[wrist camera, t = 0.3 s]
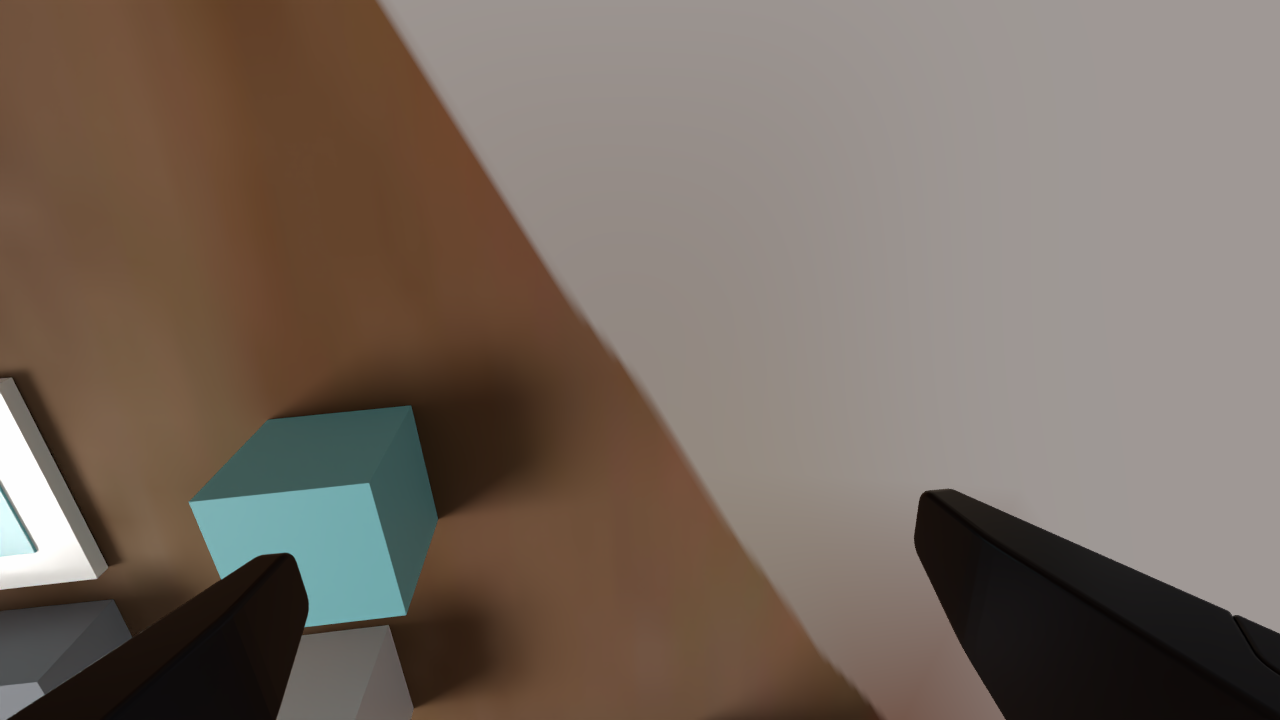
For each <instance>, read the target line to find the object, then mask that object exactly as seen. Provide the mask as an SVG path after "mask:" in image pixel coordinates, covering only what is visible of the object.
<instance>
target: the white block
mask: <svg viewBox="0 0 1280 720" xmlns="http://www.w3.org/2000/svg"><path fill="white" fill-rule="evenodd" d="M413 709H414V708H413V704H412V701H411V698H410V694H409V691H408V688H407V684H406V681H405V678H404V674H403V671H402V668H401V664H400V661H399V657H398V654H397V651H396V647H395V644H394V641H393V637H392V634H391V631H390V627H389V625H384V626H376V627H368V628H359V629H351V630H343V631H334V632H326V633H317V634H309V635H302V637H301V640H300V644H299V647H298V650H297V654H296V657H295V660H294V664H293V667H292V670H291V674H290V677H289V680H288V684H287V687H286V690H285V694H284V697H283V700H282V704H281V707H280V710H279V713H278V716H277V719H276V720H411V717H412V713H413Z"/></svg>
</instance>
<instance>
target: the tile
mask: <svg viewBox="0 0 1280 720" xmlns="http://www.w3.org/2000/svg"><path fill="white" fill-rule="evenodd" d="M107 569H108V566H107V564H106V562H105V560H104V558H103V556H102V554H101V552H100V550H99V548H98V546H97V544H96V542H95V540H94V538H93V536H92V534H91V532H90V530H89V528H88V526H87V524H86V522H85V520H84V518H83V516H82V515H81V513H80V511H79V509H78V507H77V505H76V503H75V501H74V499H73V497H72V495H71V493H70V491H69V489H68V487H67V485H66V483H65V481H64V479H63V477H62V475H61V473H60V471H59V469H58V467H57V465H56V463H55V461H54V459H53V457H52V455H51V454H50V452H49V450H48V448H47V446H46V444H45V442H44V440H43V438H42V436H41V434H40V432H39V430H38V428H37V426H36V424H35V422H34V420H33V418H32V416H31V414H30V412H29V410H28V408H27V406H26V404H25V402H24V400H23V398H22V396H21V394H20V393H19V391H18V389H17V387H16V385H15V383H14V381H13V379H12V377H10V378H0V590H2V589H10V588H19V587H28V586H37V585H46V584H55V583H64V582H73V581H81V580H90V579H98V578H99V577H100V576H101V575H102V574H103V573H104V572H105V571H106V570H107Z"/></svg>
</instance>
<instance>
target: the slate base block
mask: <svg viewBox="0 0 1280 720" xmlns="http://www.w3.org/2000/svg"><path fill="white" fill-rule="evenodd" d="M131 638H132V636H131V634H130V632H129V630H128V628H127V626H126V624H125V622H124V620H123V618H122V616H121V614H120V612H119V610H118V608H117V606H116V604H115V602H114V600H113V599H111V600H101V601H92V602H82V603H73V604H63V605H53V606H44V607H34V608H24V609H15V610H5V611H0V720H6V719H8V718H9V717H11V716H12V715H14V714H15V713H17V712H19V711H20V710H22V709H23V708H25V707H26V706H28V705H29V704H31V703H32V702H34V701H35V700H37V699H39V698H40V697H42V696H43V695H45V694H46V693H48V692H49V691H51V690H52V689H54V688H55V687H57V686H58V685H60V684H62V683H63V682H65V681H66V680H68V679H69V678H71V677H72V676H74V675H75V674H77V673H78V672H80V671H82V670H83V669H85V668H86V667H88V666H89V665H91V664H92V663H94V662H95V661H97V660H98V659H100V658H101V657H103V656H105V655H106V654H108V653H109V652H111V651H112V650H114V649H115V648H117V647H118V646H120V645H121V644H123V643H125V642H126V641H128V640H129V639H131Z"/></svg>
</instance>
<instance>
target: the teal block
mask: <svg viewBox="0 0 1280 720" xmlns="http://www.w3.org/2000/svg"><path fill="white" fill-rule="evenodd" d="M189 504H190V506H191V509H192V511H193V513H194V516H195V518H196V520H197V523H198V525H199V527H200V530H201V532H202V535H203V537H204V539H205V542H206V544H207V546H208V549H209V551H210V554H211V556H212V558H213V561H214V563H215V565H216V568H217V570H218V573H219V575H220V577H221V579H223V578H224V577H226V576H227V575H229V574H231V573H232V572H234V571H235V570H237V569H238V568H240V567H241V566H243V565H244V564H246V563H247V562H249V561H251V560H252V559H254V558H255V557H257V556H260V555H265V554H275V553H289V554H291V555H293V556H294V558H295V559H296V562H297V564H298V568H299V571H300V574H301V577H302V580H303V583H304V586H305V589H306V592H307V595H308V600H309V612H308V617H307V621H306V624H305V627H310V626H319V625H327V624H336V623H344V622H352V621H361V620H369V619H378V618H386V617H395V616H403V615H407V612H408V609H409V606H410V603H411V600H412V597H413V594H414V590H415V587H416V584H417V581H418V578H419V575H420V572H421V569H422V566H423V563H424V560H425V557H426V554H427V551H428V548H429V545H430V542H431V539H432V536H433V533H434V530H435V527H436V524H437V521H438V517H437V512H436V508H435V504H434V500H433V496H432V491H431V487H430V483H429V479H428V474H427V470H426V466H425V462H424V458H423V453H422V449H421V445H420V441H419V436H418V432H417V428H416V424H415V420H414V415H413V411H412V407H411V405H410V406H400V407H390V408H380V409H370V410H360V411H350V412H340V413H330V414H320V415H310V416H300V417H290V418H280V419H270V420H267V421H266V422H265V423H264V424H263V425H262V426H261V427H260V428H259V430H258V431H257V432H256V433H255V434H254V435H253V436H252V437H251V438H250V439H249V440H248V441H247V442H246V443H245V444H244V445H243V446H242V447H241V448H240V449H239V450H238V451H237V452H236V453H235V455H234V456H233V457H232V458H231V459H230V460H229V461H228V462H227V463H226V464H225V465H224V466H223V467H222V468H221V469H220V470H219V471H218V472H217V473H216V474H215V475H214V476H213V477H212V478H211V480H210V481H209V482H208V483H207V484H206V485H205V486H204V487H203V488H202V489H201V490H200V491H199V492H198V493H197V494H196V495H195V496H194V497H193V498H192V499H191V500H190V501H189Z"/></svg>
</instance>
